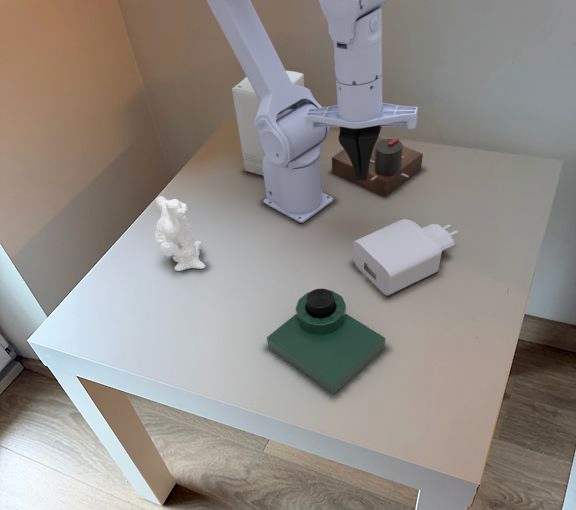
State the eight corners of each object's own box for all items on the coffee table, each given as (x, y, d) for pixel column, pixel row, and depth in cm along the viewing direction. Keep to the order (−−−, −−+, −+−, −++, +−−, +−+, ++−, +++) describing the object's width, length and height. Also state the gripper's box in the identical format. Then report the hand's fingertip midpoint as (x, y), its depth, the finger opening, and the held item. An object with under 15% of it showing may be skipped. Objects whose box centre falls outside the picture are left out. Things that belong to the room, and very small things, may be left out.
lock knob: (389, 179, 88) (390, 154, 85) (369, 169, 91) (369, 145, 87) (406, 167, 90) (408, 142, 87) (386, 158, 92) (387, 133, 89)
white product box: (285, 183, 96) (275, 97, 84) (244, 171, 99) (229, 88, 87) (310, 157, 100) (305, 72, 88) (270, 146, 104) (260, 63, 92)
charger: (471, 258, 80) (388, 298, 77) (432, 226, 85) (352, 263, 82) (477, 232, 76) (389, 273, 73) (436, 200, 81) (352, 238, 78)
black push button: (301, 310, 72) (300, 299, 70) (320, 295, 73) (319, 284, 72) (321, 322, 70) (320, 312, 69) (340, 307, 72) (339, 296, 70)
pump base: (267, 347, 73) (263, 327, 70) (320, 303, 77) (319, 282, 74) (334, 395, 68) (333, 376, 64) (388, 345, 71) (390, 325, 68)
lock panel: (327, 176, 96) (326, 159, 93) (368, 147, 100) (368, 131, 98) (390, 205, 89) (391, 188, 87) (432, 174, 93) (434, 157, 91)
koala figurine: (218, 266, 84) (201, 199, 75) (181, 285, 82) (158, 220, 73) (193, 239, 89) (174, 174, 79) (157, 257, 87) (133, 192, 77)
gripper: (422, 59, 67) (417, 161, 77) (310, 63, 71) (320, 161, 81) (415, 84, 63) (411, 189, 73) (296, 88, 67) (308, 187, 77)
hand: (362, 176), depth 77 cm, fingers closed
